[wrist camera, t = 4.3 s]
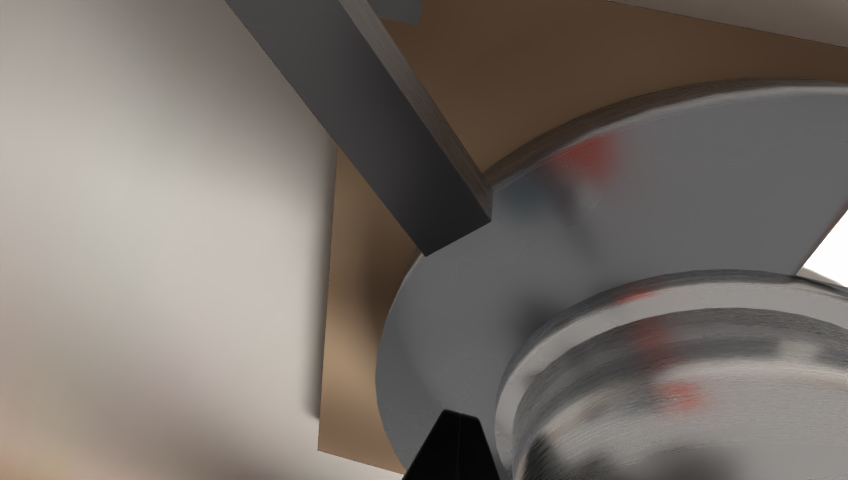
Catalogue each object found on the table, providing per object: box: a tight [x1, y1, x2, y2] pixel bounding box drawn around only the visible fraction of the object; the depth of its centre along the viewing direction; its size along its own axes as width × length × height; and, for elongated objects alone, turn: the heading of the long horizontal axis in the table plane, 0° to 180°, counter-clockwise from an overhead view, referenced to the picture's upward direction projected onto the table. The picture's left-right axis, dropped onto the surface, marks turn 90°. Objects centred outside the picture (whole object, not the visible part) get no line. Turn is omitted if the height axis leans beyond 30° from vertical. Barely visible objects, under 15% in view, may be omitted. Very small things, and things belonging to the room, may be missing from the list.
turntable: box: [375, 77, 848, 480], centre depth 9 cm, size 15×18×4 cm
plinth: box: [318, 0, 848, 475], centre depth 12 cm, size 16×19×1 cm
